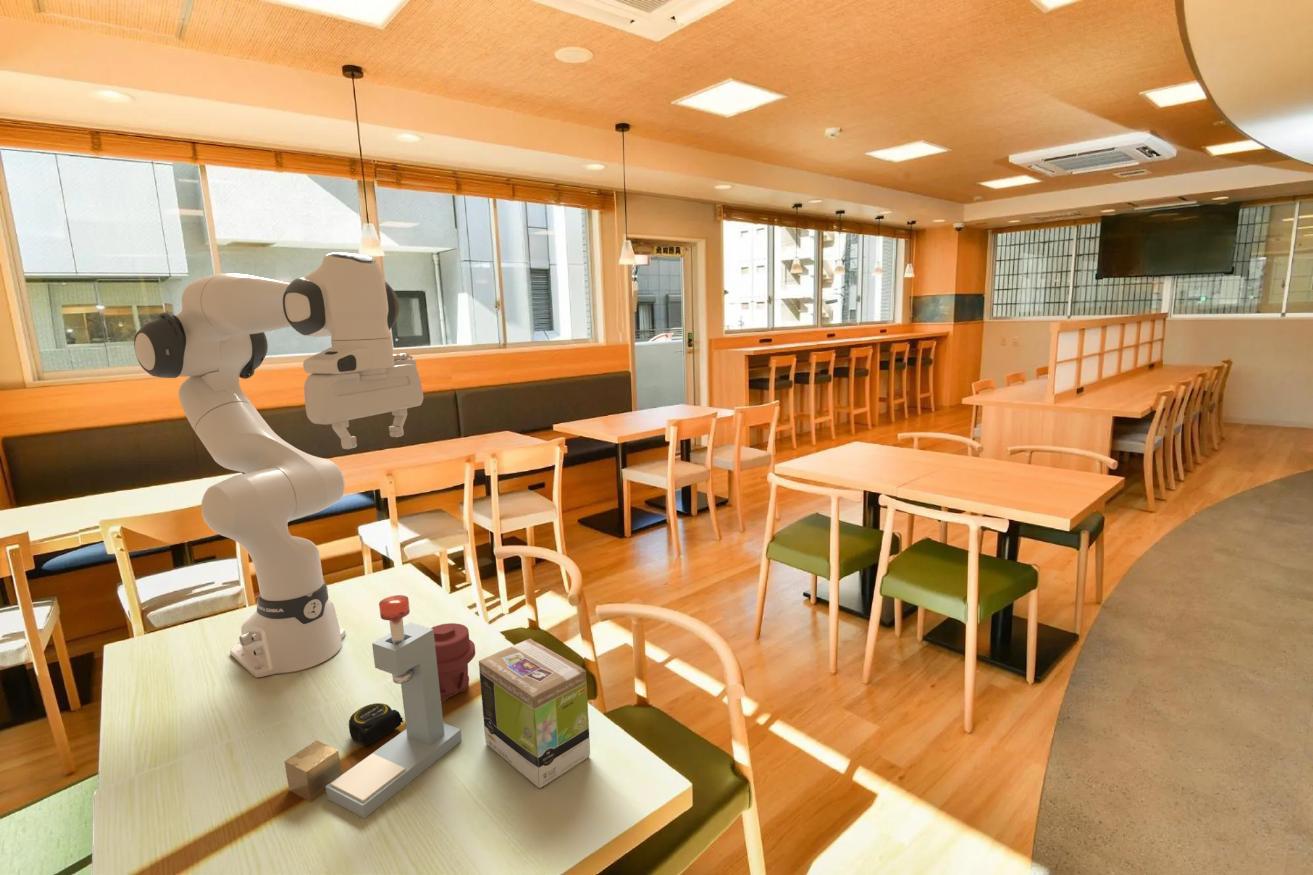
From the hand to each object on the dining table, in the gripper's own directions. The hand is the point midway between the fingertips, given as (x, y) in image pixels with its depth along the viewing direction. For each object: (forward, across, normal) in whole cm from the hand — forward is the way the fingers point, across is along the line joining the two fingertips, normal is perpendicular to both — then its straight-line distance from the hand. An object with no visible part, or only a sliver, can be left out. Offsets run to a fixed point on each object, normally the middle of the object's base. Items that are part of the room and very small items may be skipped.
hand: (374, 442), depth 107 cm
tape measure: (+47, +9, +4) cm, 48 cm away
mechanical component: (+47, -5, +6) cm, 47 cm away
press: (+47, +14, +13) cm, 50 cm away
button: (+33, +11, +14) cm, 37 cm away
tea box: (+47, +2, +30) cm, 56 cm away
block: (+47, +21, +5) cm, 52 cm away
